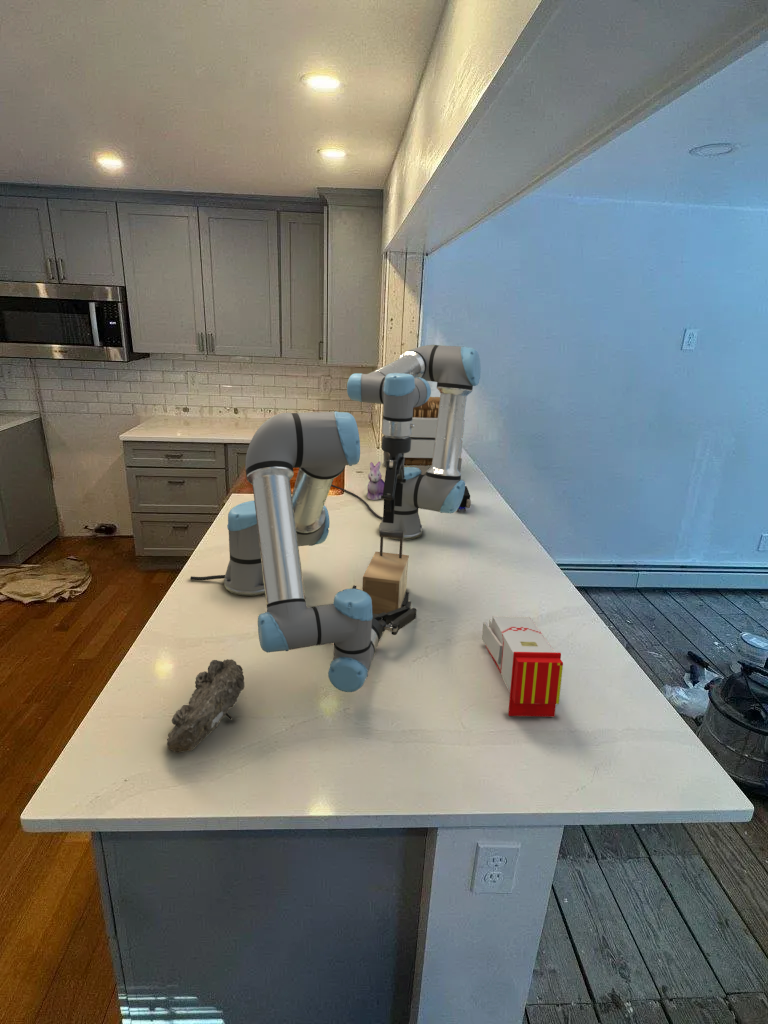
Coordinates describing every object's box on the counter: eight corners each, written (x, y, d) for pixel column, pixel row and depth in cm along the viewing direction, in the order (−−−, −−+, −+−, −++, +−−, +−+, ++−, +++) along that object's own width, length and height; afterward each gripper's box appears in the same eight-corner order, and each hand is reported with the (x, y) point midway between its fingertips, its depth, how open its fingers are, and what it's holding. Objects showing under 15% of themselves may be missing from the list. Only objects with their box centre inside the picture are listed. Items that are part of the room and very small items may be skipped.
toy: (528, 601, 136) (572, 659, 107) (523, 653, 139) (565, 722, 110) (478, 600, 136) (508, 657, 107) (474, 652, 139) (503, 722, 109)
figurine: (371, 501, 231) (372, 466, 226) (360, 494, 239) (361, 460, 234) (391, 499, 235) (393, 464, 230) (380, 492, 244) (382, 458, 238)
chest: (373, 585, 162) (374, 555, 159) (406, 589, 160) (408, 559, 157) (361, 612, 148) (362, 579, 144) (397, 617, 146) (399, 584, 143)
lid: (375, 554, 160) (376, 526, 157) (408, 557, 158) (410, 529, 155) (362, 579, 144) (363, 548, 142) (399, 583, 143) (401, 553, 140)
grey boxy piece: (382, 463, 289) (386, 382, 275) (445, 464, 293) (451, 384, 279) (390, 482, 257) (394, 392, 243) (460, 483, 261) (468, 394, 247)
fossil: (192, 660, 117) (244, 628, 112) (224, 691, 120) (276, 661, 115) (142, 746, 98) (202, 712, 93) (182, 779, 101) (242, 748, 96)
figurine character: (470, 516, 223) (465, 500, 237) (473, 499, 220) (467, 484, 233) (453, 516, 223) (449, 500, 236) (455, 498, 220) (451, 483, 233)
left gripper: (308, 644, 128) (333, 600, 148) (417, 660, 124) (428, 612, 144) (308, 615, 126) (333, 574, 145) (419, 630, 121) (430, 586, 141)
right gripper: (403, 447, 133) (399, 531, 140) (417, 427, 156) (412, 500, 163) (372, 445, 134) (369, 528, 141) (390, 425, 157) (387, 498, 164)
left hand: (380, 593), depth 144 cm, fingers open, 13 cm apart
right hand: (392, 513), depth 152 cm, fingers open, 13 cm apart
